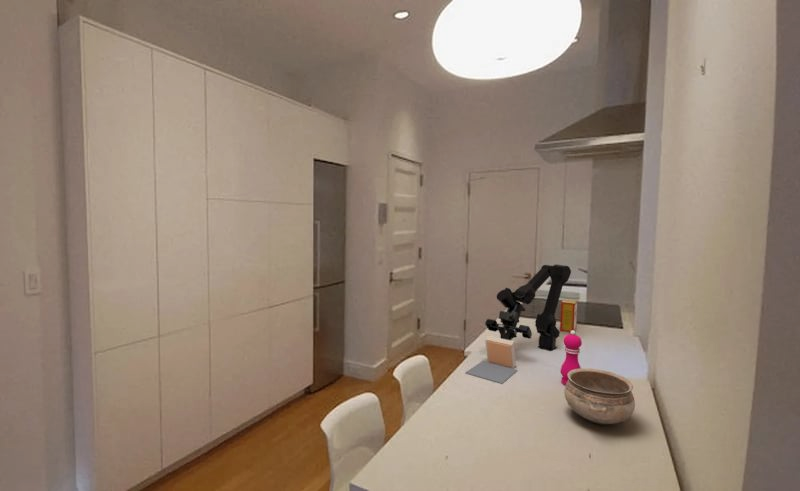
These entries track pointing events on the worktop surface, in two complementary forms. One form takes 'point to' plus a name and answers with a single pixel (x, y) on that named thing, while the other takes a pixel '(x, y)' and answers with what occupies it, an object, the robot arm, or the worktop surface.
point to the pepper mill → (570, 355)
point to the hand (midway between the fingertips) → (501, 346)
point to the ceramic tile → (501, 352)
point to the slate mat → (491, 372)
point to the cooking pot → (599, 396)
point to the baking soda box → (568, 315)
